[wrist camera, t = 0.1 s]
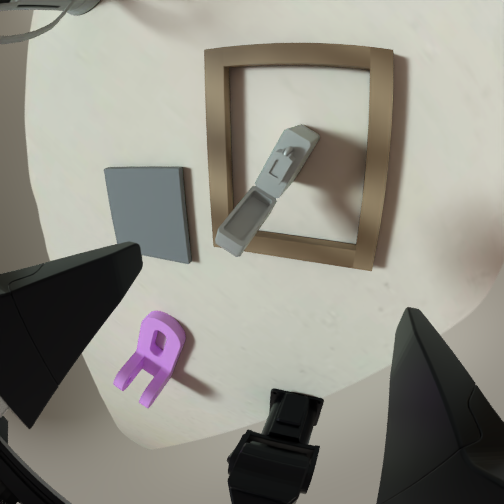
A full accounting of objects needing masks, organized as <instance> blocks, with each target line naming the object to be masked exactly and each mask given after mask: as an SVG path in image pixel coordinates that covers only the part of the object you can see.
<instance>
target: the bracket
mask: <svg viewBox="0 0 504 504" xmlns="http://www.w3.org/2000/svg"><path fill="white" fill-rule="evenodd" d="M158 331H161V332H162V333H163V334H164V335H165V336H166V339H167V340H166V343H165V347H164V350H162V349H160V348H159V347H158V346H157V345H156V343H155V341H156V337H157V333H158ZM185 340H186V336H185V332H184V330H183V328H182V327H181V325H180V324H179V323H178V322H177V321H176V320H175V319H174V318H173V317H171V316H170V315H168V314H167V313H164V312H161V311H152V312H150V313H149V314H148V315H147V316H146V317H145V319H144V320H143V321H142V323H141V328H140V334H139V339H138V345H137V350H136V352H135V353H134V354H133V355H132V357H131V358H130V359H129V360H128V361H127V362H126V364H125V365H124V366H123V367H122V368H121V370H120V371H119V372H118V374H117V375H116V377H115V379H114V383H113V384H114V385H115V386H116V387H118V388H119V389H120V390H122V391H124V390H125V389H126V388H127V387H128V386H129V384H130V383H131V382H132V381H133V379H134V378H135V377H136V376H137V374H138V373H139V372H140V371H141V369H144V370H145V371H147V372H148V373H150V374H151V375H153V376H154V378H153V380H152V381H151V382H150V384H149V385H148V386H147V388H146V389H145V391H144V392H143V394H142V396H141V398H140V400H139V403H141V404H142V405H144V406H145V407H147V408H149V407H150V406H151V405H152V403H153V402H154V401H155V399H156V398H157V396H158V395H159V394H160V392H161V391H162V389H163V388H164V386H165V385H166V384H167V382H168V381H169V379H170V378H171V376H172V373H173V370H174V368H175V365H176V363H177V360H178V358H179V355H180V353H181V350H182V348H183V345H184V343H185Z"/></svg>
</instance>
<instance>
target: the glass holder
mask: <svg viewBox="0 0 504 504" xmlns="http://www.w3.org/2000/svg"><path fill="white" fill-rule="evenodd" d="M99 1H100V0H0V11H5V10H59V11H63V12H62V13H61V14H60V16H59V17H58V18H57V19H56V20H54V21H53V22H52V23H50V24H49V25H47V26H45V27H43V28H40V29H38V30H36V31H32V32H28V33H25V34H20V35H12V36H0V44H9V43H15V42H21V41H25V40H28V39H32V38H34V37H37V36H39V35H41V34H43V33H45V32H47V31H49V30H50V29H52V28H53V27H54V26H55V25H56V24H57V23H58V22H59V21H60V19H61V18H62V17H63V16H64V15H65V14H66V12H67V13H69V14H71V15H81V14H84V13H86V12H87V11H89V10H90V9H92V8H93V7H94V6H95V5H96V4H97V3H98V2H99Z"/></svg>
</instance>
